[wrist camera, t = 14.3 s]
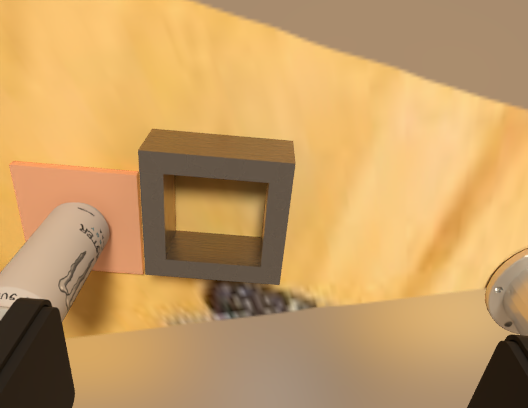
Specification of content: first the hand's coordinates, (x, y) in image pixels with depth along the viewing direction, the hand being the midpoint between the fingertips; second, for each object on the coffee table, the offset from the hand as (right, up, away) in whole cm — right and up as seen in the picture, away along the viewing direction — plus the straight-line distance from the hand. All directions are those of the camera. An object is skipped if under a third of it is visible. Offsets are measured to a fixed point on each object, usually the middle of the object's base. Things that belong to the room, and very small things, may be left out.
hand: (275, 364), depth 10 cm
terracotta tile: (-19, +2, +36) cm, 41 cm away
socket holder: (-5, +4, +35) cm, 35 cm away
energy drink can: (-19, +2, +36) cm, 41 cm away
